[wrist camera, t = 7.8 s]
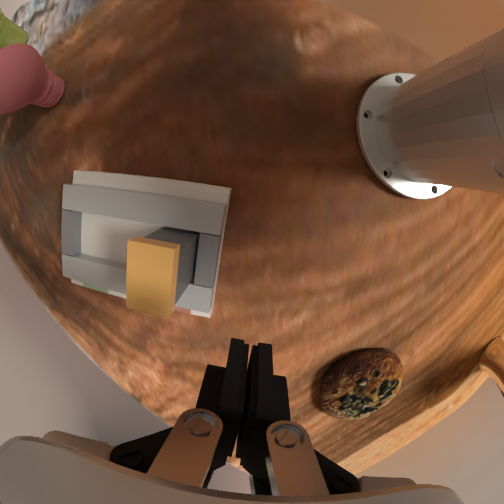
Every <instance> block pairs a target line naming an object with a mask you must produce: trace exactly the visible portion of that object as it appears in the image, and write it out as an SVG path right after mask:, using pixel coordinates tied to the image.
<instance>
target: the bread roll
mask: <svg viewBox="0 0 504 504" xmlns="http://www.w3.org/2000/svg"><path fill="white" fill-rule="evenodd" d="M402 380H403V366H402V364H401V361H400V358H399V356H398V355H396V354H394V352H392V351H390V350H386V349H384V348H382V349H369V350H368V349H367V350H363V351H359V352H354V353H352V354H350V355H348V356H346V357H344V358H342V359H341V360H337V361H336V362H335V363H333V364H332V365H331V366H330V368H329V369H328V370H327V372H326V373H325V375H324V379H323V380H322V383H321V388H320V403H321V407H322V409H323V411H325V413H327V414H328V415H329V416H331V417H335V418H337V419H342V420H352V419H361V418H364V417H369V416H371V415H372V412H374V411H377V410H379V409H380V408H381V407H383V406H385V405H386V404H387V403H389V402H390V400H392V399H393V397H394V396H395V395H396V394H397V392H398V391H399V389H400V387H401V381H402Z"/></svg>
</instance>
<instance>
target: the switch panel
mask: <svg viewBox="0 0 504 504" xmlns="http://www.w3.org/2000/svg"><path fill="white" fill-rule="evenodd" d="M231 189H232V188H229V187H223V186H216V185H210V184H203V183H196V182H189V181H182V180H174V179H167V178H159V177H150V176H141V175H132V174H122V173H112V172H100V171H88V170H74V172H73V182H72V183H70V184H63V198H62V209H63V210H62V223H61V246H62V253H63V254H62V271H63V276H64V277H67V278H70V279H71V283H74V284H77V285H80V286H83V287H87V288H90V289H93V290H97V291H100V292H104V293H107V294H111V295H115V296H119V297H122V298H126V273H127V245H128V240H129V239H131V238H133V237H135V236H138V237H145V236H147V235H149V234H151V233H153V232H155V231H156V230H158V229H160V228H162V227H164V226H166V227H172V228H178V229H184V230H189V231H195V232H200V236H199V243H198V251H197V259H196V267H195V276H194V278H193V279H192V281H191V282H190V284H189V285H188V287H187V288H186V290H185V291H184V293H183V294H182V296H181V297H180V299H179V300H178V302H177V303H176V305H175V309H174V311H179V312H183V313H188V314H193V315H198V316H203V317H208V318H210V317H211V315H212V312H213V306H214V299H215V292H216V285H217V278H218V271H219V264H220V257H221V251H222V244H223V238H224V231H225V225H226V219H227V213H228V207H229V201H230V195H231Z"/></svg>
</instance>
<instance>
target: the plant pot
mask: <svg viewBox="0 0 504 504" xmlns="http://www.w3.org/2000/svg"><path fill="white" fill-rule="evenodd" d="M27 40H28V34H27V32H26V31H24V30H23V29H22V28H20V27H19V26H17V25H16V24H15V23H13V22H12V21H10V20H9V19H8V18H6V17H5V16H4V14H3V13H2V12H1V9H0V49H2V48H4V47H6V46H8V45H11V44H15V43H23V44H25V43H26V41H27Z"/></svg>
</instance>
